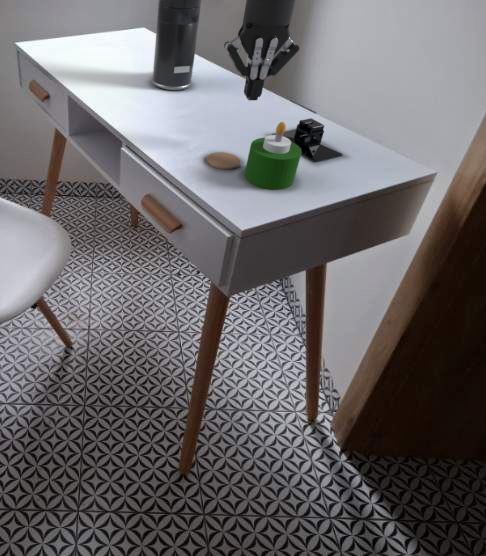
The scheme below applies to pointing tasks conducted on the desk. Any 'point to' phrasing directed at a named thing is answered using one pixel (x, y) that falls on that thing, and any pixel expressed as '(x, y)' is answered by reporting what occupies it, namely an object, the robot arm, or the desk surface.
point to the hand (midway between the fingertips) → (251, 98)
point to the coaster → (223, 160)
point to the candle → (273, 161)
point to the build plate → (311, 140)
